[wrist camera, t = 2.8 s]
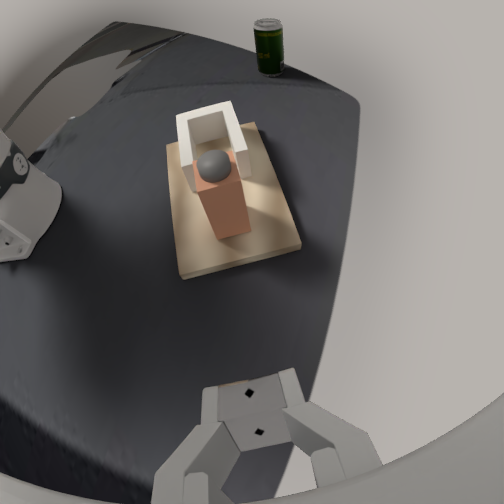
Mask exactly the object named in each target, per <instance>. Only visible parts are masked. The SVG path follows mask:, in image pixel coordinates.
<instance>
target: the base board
mask: <svg viewBox="0 0 504 504" xmlns="http://www.w3.org/2000/svg"><path fill="white" fill-rule="evenodd" d="M239 126H240V128H241V131H242V134H243V137H244V140H245V142H246V145H247V148H248V153H249V160H250V166H251V173H252V177H248V178H244V179H241V182H242V187H243V192H244V197H245V202H246V207H247V212H248V217H249V222H250V227H251V231H249V232H245V233H241V234H238V235H234V236H230V237H226V238H222V239H219V240H217V238H216V236H215V234H214V231H213V229H212V227H211V224H210V222H209V220H208V217H207V215H206V212H205V210H204V208H203V205H202V203H201V200H200V198H199V196H198V193H197V191H195V192H192V191H191V189H190V186H189V184H188V182H187V179H186V177H185V175H184V172H183V170H182V168H181V161H180V152H179V142H175V143H172V144H169V145H166V146H167V162H168V176H169V188H170V199H171V210H172V219H173V228H174V237H175V245H176V253H177V261H178V268H179V275H180V276H181V277H182V279H183V280H185V279H189V278H193V277H197V276H201V275H204V274H208V273H212V272H216V271H220V270H224V269H228V268H232V267H235V266H239V265H243V264H247V263H251V262H255V261H258V260H262V259H266V258H270V257H274V256H277V255H281V254H285V253H289V252H292V251H296V250H300V249H301V245H302V243H301V240H300V237H299V235H298V232H297V229H296V226H295V224H294V221H293V218H292V216H291V213H290V210H289V208H288V205H287V202H286V200H285V197H284V194H283V192H282V189H281V187H280V184H279V181H278V179H277V176H276V174H275V171H274V169H273V166H272V164H271V161H270V159H269V156H268V154H267V151H266V149H265V147H264V144H263V142H262V139H261V137H260V134H259V132H258V130H257V127H256V125H255V123H254V122H251V123H247V124H242V125H239ZM210 150H222V151H224V152H228V151H232V148H231V144H230V141H229V138H228V136H227V137H223V138H219V139H215V140H211V141H208V142H204V143H200V144H197V145H196V151H197V157H198V158H199V157H200V156H201V155H202V154H204V153H205V152H207V151H210Z"/></svg>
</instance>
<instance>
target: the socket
mask: <svg viewBox="0 0 504 504" xmlns="http://www.w3.org/2000/svg"><path fill="white" fill-rule="evenodd" d="M176 121H177V132H178V142H179V152H180V161H181V168H182V170H183V172H184V175H185V177H186V179H187V182H188V184H189V186H190V189H191V191H192V192H195V191H197V189H196V183H195V177H194V170H193V164H192V161H195V160H198V157H197V151H196V145H197V144H200V143H204V142H208V141H211V140H215V139H219V138H223V137H227V136H228V138H229V141H230V144H231V148H232V151H233V154H234V158H235V161H236V165H237V168H238V171H239V175H240V178H241V179H244V178H248V177H252V173H251V166H250V160H249V153H248V148H247V145H246V142H245V140H244V137H243V134H242V131H241V128H240V126H239V123H238V120H237V117H236V115H235V112H234V109H233V106H232V104H231V101H227V102H223V103H219V104H215V105H211V106H207V107H203V108H200V109H196V110H192V111H189V112H185V113H182V114H179V115H176Z"/></svg>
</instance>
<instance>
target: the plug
mask: <svg viewBox="0 0 504 504" xmlns="http://www.w3.org/2000/svg"><path fill="white" fill-rule="evenodd" d="M192 164H193V170H194V177H195V183H196V189H197V193H198V196H199V198H200V200H201V203H202V205H203V208H204V210H205V212H206V215H207V217H208V220H209V222H210V224H211V227H212V229H213V231H214V234H215V236H216V238H217V240H219V239H222V238H226V237H230V236H234V235H238V234H241V233H245V232H249V231H251V227H250V222H249V217H248V212H247V207H246V202H245V197H244V192H243V187H242V182H241V178H240V175H239V171H238V168H237V165H236V161H235V158H234V154H233V151H228V152H224V151H222V150H210V151H207V152H205V153H204V154H202V155H201V156H200V157H199V158H198V160H195V161H192Z"/></svg>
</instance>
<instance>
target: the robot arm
mask: <svg viewBox="0 0 504 504" xmlns="http://www.w3.org/2000/svg"><path fill="white" fill-rule="evenodd" d="M61 197H62V191H61V187H60V185H59V184H58V183H57V182H55V181H54V180H52V179H50V178H49V177H47V175H45V174H44V173H42V172H41V171H39V170H38V169H37V168H36V167H35V166H34V165H32V164H31V163H30V162H29V161H28V160H27V159H26V157H25V156H24V154H23V152H22V151H21V150H20V148H19V147H18V146H17V144H15V143H14V142H13V140H9V139H8V138H7V137H6V136H5V134H4V133H3V132H2V130H1V129H0V262H4V261H12V260H20V259H26V258H28V257H29V256H30V254H31V252H32V250H33V249H34V247H35V245H36V243H37V241H38V240H39V239H40V237H41V236H42V235H43V234H44V233H45V232H46V230H47V229H48V227H49V226H50V224H51V223H52V221H53V219H54V218H55V216H56V213H57V211H58V209H59V206H60V202H61ZM279 377H280V378H279ZM290 441H292V442H293V443H294V444H295V445H296V446H297V447H299V448H300V449H301V450H302V451H303V452H305V453H306V454H307V455H309V456H310V457H311V462H312V466H313V471H314V475H315V480H316V485H317V488H316V489H313V490H309V491H305V492H301V493H297V494H292V495H288V496H283V497H278V498H273V499H267V500H261V501H255V502H248V503H240V504H504V393H503V394H502V395H501V396H499V397H498V398H497V399H496V400H494V401H493V402H492V403H490V404H489V405H488V406H486V407H485V408H484V409H482V410H481V411H479V412H478V413H477V414H475V415H474V416H472V417H471V418H469V419H468V420H466V421H465V422H464V423H462V424H460V425H459V426H457V427H456V428H454V429H453V430H451V431H449V432H448V433H446V434H444V435H443V436H441V437H439V438H437V439H436V440H434V441H432V442H430V443H428V444H427V445H425V446H423V447H421V448H419V449H417V450H415V451H413V452H411V453H409V454H407V455H405V456H403V457H401V458H399V459H396V460H394V461H392V462H390V463H388V464H385V465H382V462H381V461H380V458H379V456H378V454H377V452H376V450H375V448H374V446H373V444H372V442H371V440H370V438H369V435H368V433H367V432H365V431H363V430H361V429H359V428H357V427H355V426H353V425H351V424H349V423H348V422H346V421H344V420H342V419H340V418H339V417H337V416H335V415H333V414H331V413H329V412H328V411H326V410H324V409H323V408H321V407H319V406H317V405H316V404H314V403H312V402H311V401H309V402H305V399H304V396H303V393H302V390H301V387H300V384H299V381H298V378H297V375H296V372H295V369H294V368H290V369H287V370H283V371H279V374H278V372H276V373H273V374H269V375H265V376H261V377H257V378H253V379H249V380H244V381H239V382H234V383H228V384H223V385H219V386H213V387H206V388H204V389H203V392H202V409H201V425H196V426H195V428H194V429H193V430H192V431H191V432H190V434H189V435H188V436H187V437H186V438H185V440H184V441H183V442H182V443H181V444H180V445H179V447H178V448H177V449H176V450H175V451H174V452H173V454H172V455H171V456H170V457H169V458H168V459H167V460H166V462H165V463H164V464H163V465H162V466H161V467H160V468H159V469H158V471H157V472H156V473H155V478H154V486H153V493H152V501H151V504H234V503H233V502H232V501H231V500H230V499H229V498H228V497H227V496H226V495H225V494H224V492H223V491H222V490H221V488H222V486H223V484H224V482H225V481H226V479H227V477H228V475H229V474H230V472H231V470H232V468H233V466H234V465H235V463H236V461H237V459H238V457H239V455H240V454H241V453H240V452H242V451H247V450H252V449H257V448H261V447H265V446H271V445H276V444H281V443H285V442H290ZM0 504H118V503H111V502H104V501H98V500H92V499H87V498H82V497H77V496H73V495H68V494H64V493H60V492H56V491H53V490H49V489H46V488H42V487H39V486H36V485H33V484H30V483H27V482H24V481H21V480H18V479H16V478H13V477H10V476H8V475H5V474H3V473H1V472H0Z"/></svg>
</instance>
